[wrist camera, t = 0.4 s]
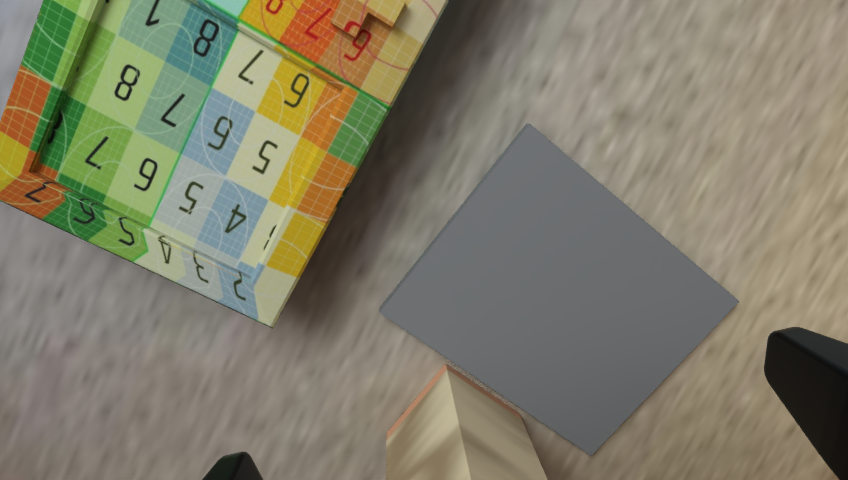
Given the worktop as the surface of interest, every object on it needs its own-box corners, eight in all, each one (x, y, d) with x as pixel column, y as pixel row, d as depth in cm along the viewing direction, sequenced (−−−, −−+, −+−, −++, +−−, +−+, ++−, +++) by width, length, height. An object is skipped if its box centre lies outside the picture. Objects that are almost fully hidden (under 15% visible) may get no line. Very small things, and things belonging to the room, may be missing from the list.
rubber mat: (586, 448, 27) (591, 456, 26) (379, 307, 24) (379, 312, 23) (731, 296, 25) (739, 301, 24) (526, 123, 22) (530, 124, 21)
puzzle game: (547, -182, 15) (266, 339, 19) (511, -115, 20) (290, 294, 24) (184, -459, 13) (-47, 194, 17) (238, -311, 17) (46, 175, 21)
